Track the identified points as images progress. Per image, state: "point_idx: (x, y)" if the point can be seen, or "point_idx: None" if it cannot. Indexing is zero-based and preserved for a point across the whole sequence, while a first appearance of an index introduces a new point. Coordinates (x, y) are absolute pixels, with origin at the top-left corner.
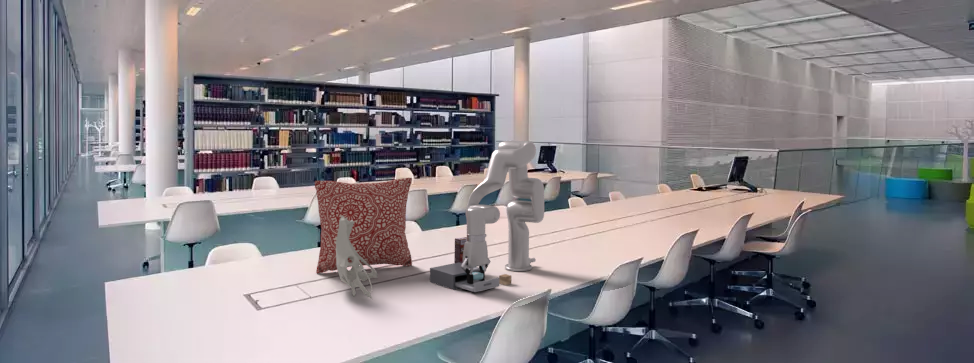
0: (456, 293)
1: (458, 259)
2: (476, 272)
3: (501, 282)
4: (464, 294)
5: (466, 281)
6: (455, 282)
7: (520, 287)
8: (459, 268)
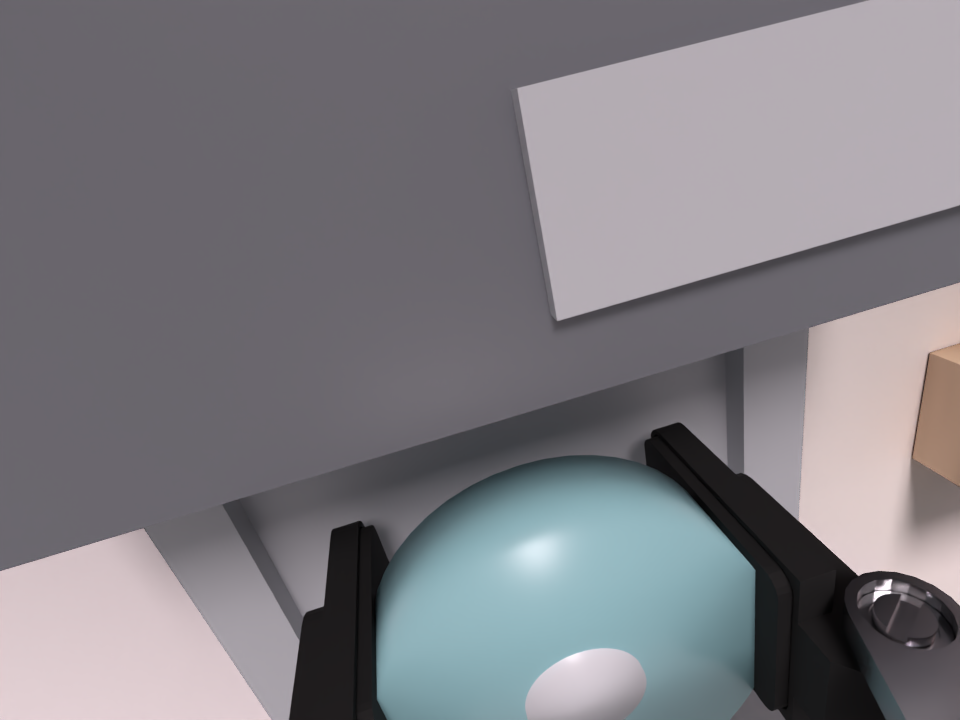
0: (73, 592)
1: None
2: (690, 573)
3: (949, 407)
4: (197, 657)
5: None
6: None
7: (950, 578)
8: None
